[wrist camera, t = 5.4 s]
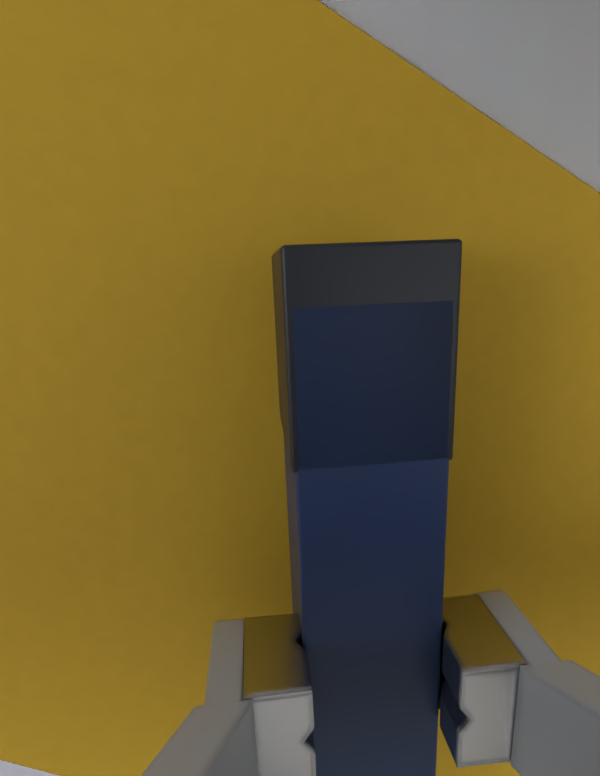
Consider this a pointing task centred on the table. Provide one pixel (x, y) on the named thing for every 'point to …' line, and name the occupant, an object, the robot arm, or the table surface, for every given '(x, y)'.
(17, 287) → the cloth
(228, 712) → the robot arm
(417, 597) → the tall navy blue post
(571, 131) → the table surface
